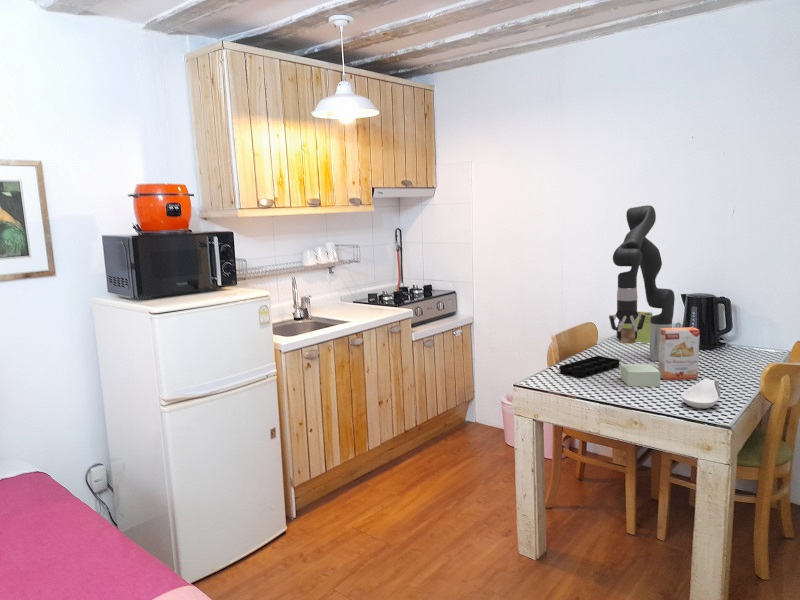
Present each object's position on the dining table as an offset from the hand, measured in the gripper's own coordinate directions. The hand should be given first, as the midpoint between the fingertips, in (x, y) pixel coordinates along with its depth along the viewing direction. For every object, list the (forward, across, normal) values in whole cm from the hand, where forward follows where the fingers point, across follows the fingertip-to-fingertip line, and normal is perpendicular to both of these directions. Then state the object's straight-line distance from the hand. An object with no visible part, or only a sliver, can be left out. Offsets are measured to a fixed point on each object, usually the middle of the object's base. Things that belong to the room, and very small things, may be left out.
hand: (626, 339), depth 231 cm
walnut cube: (+1, 0, 0) cm, 1 cm away
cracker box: (+18, -22, -6) cm, 29 cm away
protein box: (+19, -24, -75) cm, 81 cm away
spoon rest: (+18, -21, +24) cm, 37 cm away
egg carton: (+19, +11, -19) cm, 28 cm away
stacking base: (+18, -5, 0) cm, 18 cm away
